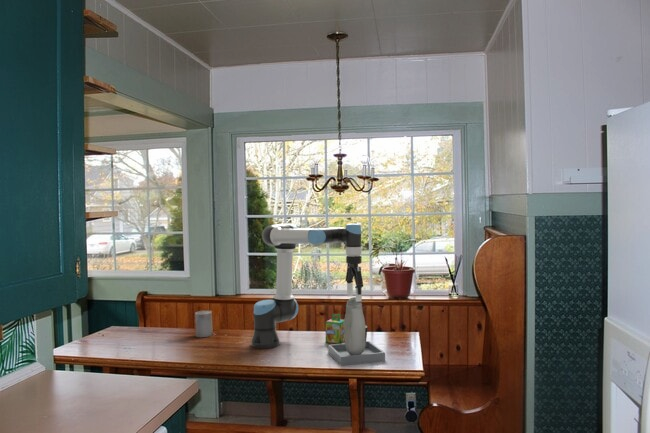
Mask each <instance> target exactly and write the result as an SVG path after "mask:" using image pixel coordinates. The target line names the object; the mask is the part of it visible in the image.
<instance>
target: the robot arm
mask: <svg viewBox="0 0 650 433" xmlns="http://www.w3.org/2000/svg"><path fill="white" fill-rule="evenodd" d="M261 238H262V241H263V242H264V243H265V244H266V245H268V246H269V247H274V249H275V251H276V288H275V289H276V290H275V291H276V293H275V294H274V295H273V298H272V299H263V300H259V301H257V302H255V304H254V305H253V312H252V313H253V328H254V329H253V330H254V331H253V334H252V337H251V343H250V345H251V347H252V348H255V349H270V348H272V349H273V348H275V347H276V348H277V347H278V346H279V345H280V338H279V334H278V332H277V323H282V322H287V321H291V320H294V318H295V317H296V316H297V315H298V312H299V303H298V302H297V300H296V299H295V296H294V295H293V289H292V288H293V287H292V286H293V259H294V258H293V257H294V255H293V253H294V251H295V250H296V245H298V244H299V245H300V244H301V245H313V246H319V245H325V244H335V243H336V244H337V243H345V255H346V256H345V262H346V264H347V266H346V267H347V268H346V275H345V282H346V296H347V297H353V295H354V293H353V292H354V289H353V288H354V287H353V286H354V285H353V284H354V283H355V297H356V301H361V302H362V301H363V300H362V299H363V297H362V288H364V282H363V276H362V266H359V265H360V264H362V263H363V262H362V260H363V259H362V251H363V247H362V225H361V224H360V223H347V224H345V227H339V226H338V227H337V226H333V227H332V226H330V227H327V228H324V227H323V228H298V227H297V226H296V225H295V224H293V223H280V224H270V225H268V226H266V227H265V228H264V229H263V230H262V233H261ZM353 279H354V280H353Z"/></svg>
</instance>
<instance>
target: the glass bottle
mask: <svg viewBox="0 0 650 433" xmlns="http://www.w3.org/2000/svg"><path fill="white" fill-rule="evenodd" d="M365 320H366V319H365V316H364V312H363V304H362V301H356V296H355V297H353V296H352V297H350V298H348V300H347V301H346V307H345V316H344V334H345V341H344V343H345V347H346V350H347V352H348V353H349V354H351V355H360V354H361V353H363V351H364V349H365V345H366V341H367V338H366V339H365V325H366V321H365Z"/></svg>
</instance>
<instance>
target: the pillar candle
mask: <svg viewBox="0 0 650 433" xmlns="http://www.w3.org/2000/svg"><path fill="white" fill-rule="evenodd" d="M212 314H213V311H212V310H207V309H206V310H204V309H203V310H199V311H195V312H194V318H195V321H194V322H195V326H194V327H195V337H196V338H209V337H211V336H213V334H214V333H213V332H214V330H213V315H212Z"/></svg>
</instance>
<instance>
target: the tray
mask: <svg viewBox="0 0 650 433" xmlns="http://www.w3.org/2000/svg"><path fill="white" fill-rule="evenodd" d="M327 348H328V350H327V351H328V354H329V355H330V356H331V357H332V358H333V359H334V360H335V361H336V363H338V364H339V365H340V366H348V365H349V366H350V365H358V364H367V363H368V364H369V363H378V362H385V361H386V352H385V351H384V350H382V349H381V348H380V347H378V346H377V345H375V344H374V342H373V343H372V342H371V341H370V340H366V345H365V349H364V351H363V353H361V354H360V355H351V354H349V353H348V352H347V350H346V347H345V342H343V343H341V344H337V343H333V344H328V347H327Z"/></svg>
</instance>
